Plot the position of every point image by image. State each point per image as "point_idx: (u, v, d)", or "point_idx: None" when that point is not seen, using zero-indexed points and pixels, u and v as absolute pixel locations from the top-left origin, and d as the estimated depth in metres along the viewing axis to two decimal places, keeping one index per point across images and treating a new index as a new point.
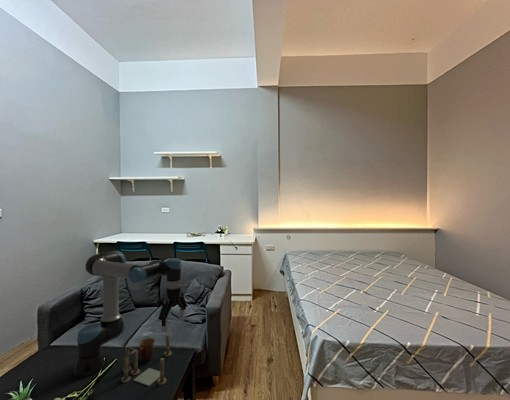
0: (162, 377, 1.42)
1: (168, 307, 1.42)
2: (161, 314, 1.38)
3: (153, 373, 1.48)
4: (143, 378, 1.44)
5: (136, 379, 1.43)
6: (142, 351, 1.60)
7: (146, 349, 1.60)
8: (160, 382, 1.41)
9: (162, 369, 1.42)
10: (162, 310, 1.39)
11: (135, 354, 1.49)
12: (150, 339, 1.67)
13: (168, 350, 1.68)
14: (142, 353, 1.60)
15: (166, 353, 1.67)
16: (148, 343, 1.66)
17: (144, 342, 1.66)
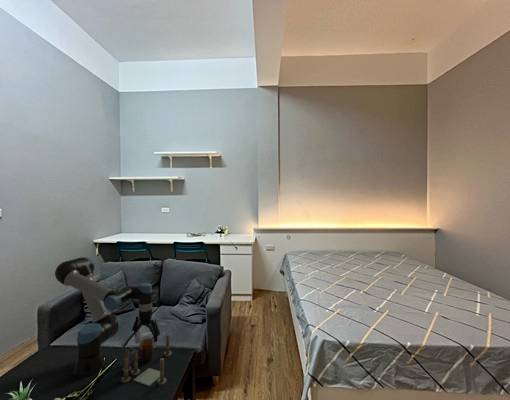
0: (162, 377, 1.42)
1: None
2: None
3: (153, 373, 1.48)
4: (143, 378, 1.44)
5: (136, 379, 1.43)
6: (142, 351, 1.60)
7: (146, 349, 1.60)
8: (160, 382, 1.41)
9: (162, 369, 1.42)
10: None
11: (135, 354, 1.49)
12: (150, 339, 1.67)
13: (168, 350, 1.68)
14: (142, 353, 1.60)
15: (166, 353, 1.67)
16: (148, 343, 1.66)
17: (144, 342, 1.66)
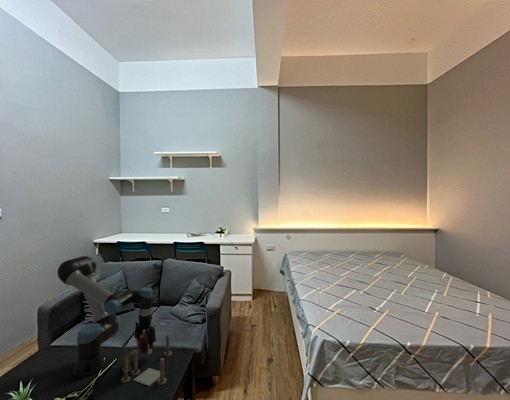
0: (162, 377, 1.42)
1: None
2: None
3: (153, 373, 1.48)
4: (143, 378, 1.44)
5: (136, 379, 1.43)
6: (142, 343, 1.60)
7: (146, 341, 1.60)
8: (160, 382, 1.41)
9: (162, 369, 1.42)
10: None
11: (135, 354, 1.49)
12: None
13: (168, 350, 1.68)
14: (142, 345, 1.60)
15: (166, 353, 1.67)
16: None
17: (144, 334, 1.66)
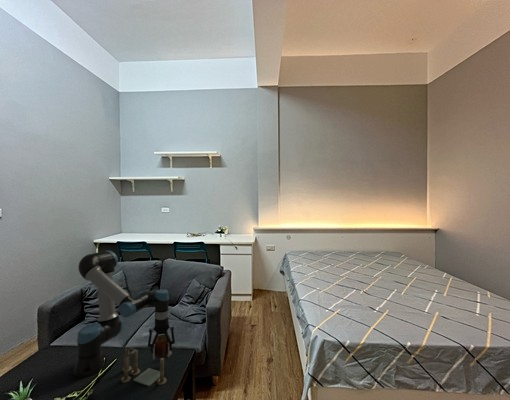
0: (162, 377, 1.42)
1: (155, 336, 1.54)
2: (148, 341, 1.53)
3: (153, 373, 1.48)
4: (143, 378, 1.44)
5: (136, 379, 1.43)
6: (161, 348, 1.53)
7: (165, 344, 1.55)
8: (160, 382, 1.41)
9: (162, 369, 1.42)
10: (149, 338, 1.53)
11: (135, 354, 1.49)
12: (160, 336, 1.60)
13: None
14: (161, 350, 1.53)
15: None
16: (159, 340, 1.59)
17: (156, 340, 1.57)
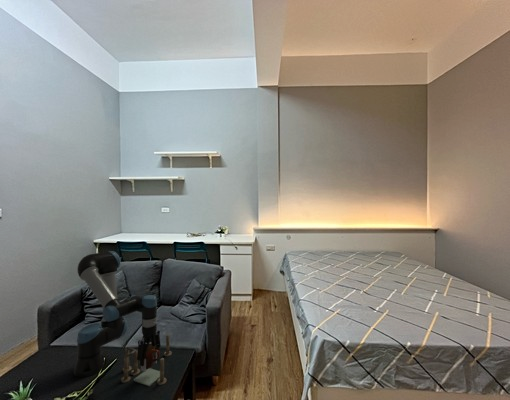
0: (162, 377, 1.42)
1: (145, 346, 1.43)
2: (138, 355, 1.40)
3: (153, 373, 1.48)
4: (143, 378, 1.44)
5: (136, 379, 1.43)
6: (152, 356, 1.45)
7: None
8: (160, 382, 1.41)
9: (162, 369, 1.42)
10: (139, 351, 1.40)
11: (135, 354, 1.49)
12: None
13: (168, 350, 1.68)
14: (152, 358, 1.46)
15: (166, 353, 1.67)
16: None
17: None
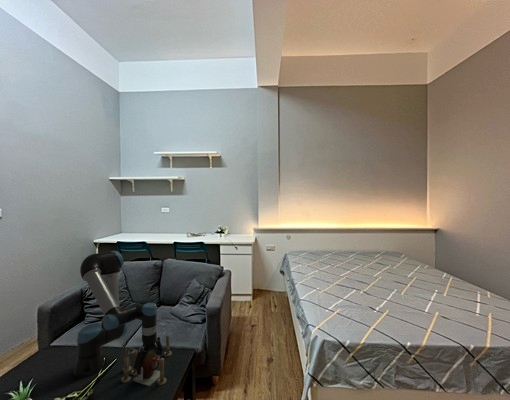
0: (162, 377, 1.42)
1: (143, 354, 1.42)
2: (136, 363, 1.38)
3: (153, 373, 1.48)
4: None
5: (136, 379, 1.43)
6: (151, 365, 1.46)
7: None
8: (160, 382, 1.41)
9: (162, 369, 1.42)
10: (137, 359, 1.39)
11: (135, 354, 1.49)
12: None
13: (168, 350, 1.68)
14: (152, 367, 1.46)
15: (166, 353, 1.67)
16: None
17: None
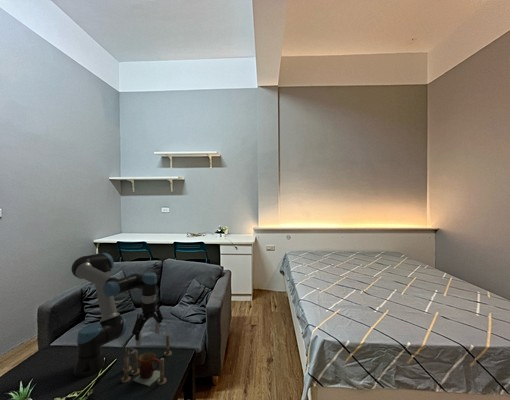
0: (162, 377, 1.42)
1: (142, 321, 1.44)
2: (135, 328, 1.40)
3: (153, 373, 1.48)
4: None
5: (136, 379, 1.43)
6: (151, 365, 1.45)
7: None
8: (160, 382, 1.41)
9: (162, 369, 1.42)
10: (136, 324, 1.41)
11: (135, 354, 1.49)
12: (140, 356, 1.47)
13: (168, 350, 1.68)
14: (152, 367, 1.45)
15: (166, 353, 1.67)
16: None
17: None
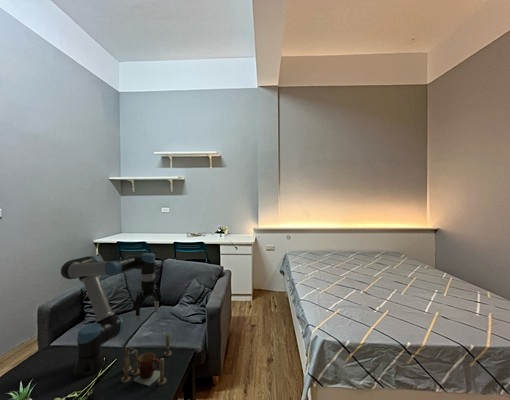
0: (162, 377, 1.42)
1: (142, 298, 1.53)
2: (135, 304, 1.49)
3: (153, 373, 1.48)
4: None
5: (136, 379, 1.43)
6: (151, 365, 1.45)
7: None
8: (160, 382, 1.41)
9: (162, 369, 1.42)
10: (136, 301, 1.50)
11: (135, 354, 1.49)
12: (140, 356, 1.47)
13: (168, 350, 1.68)
14: (152, 367, 1.45)
15: (166, 353, 1.67)
16: None
17: None
